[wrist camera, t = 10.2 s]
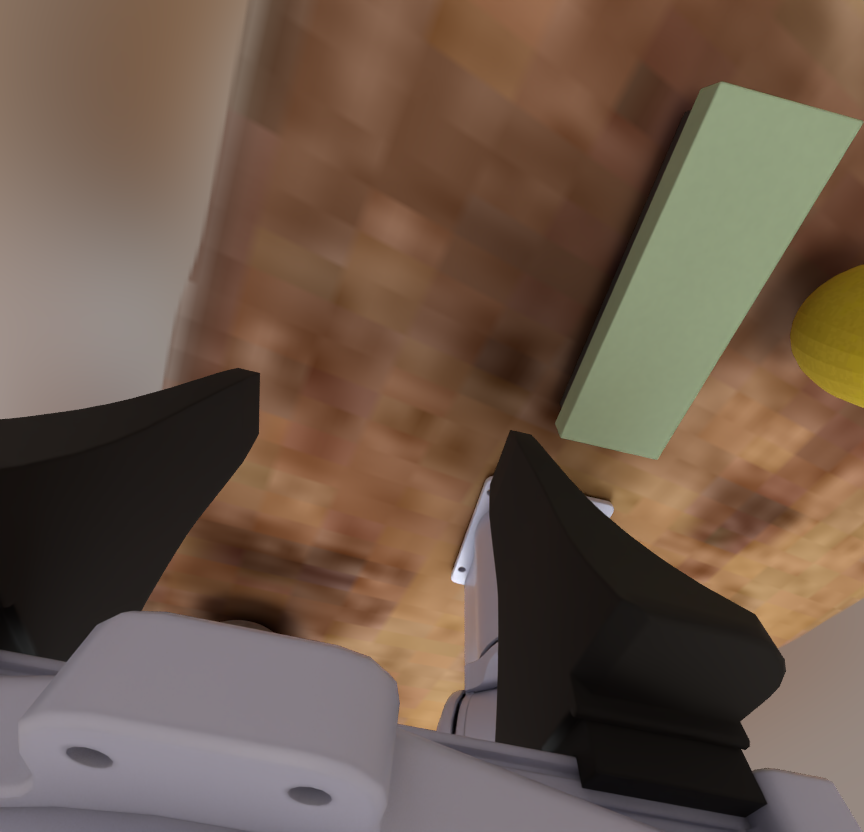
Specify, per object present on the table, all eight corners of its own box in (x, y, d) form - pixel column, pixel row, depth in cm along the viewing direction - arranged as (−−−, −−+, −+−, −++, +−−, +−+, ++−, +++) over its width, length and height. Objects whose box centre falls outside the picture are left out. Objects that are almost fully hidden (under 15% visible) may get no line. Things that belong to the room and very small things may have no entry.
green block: (636, 428, 23) (657, 460, 21) (548, 408, 23) (559, 438, 20) (801, 129, 16) (865, 120, 14) (679, 95, 16) (721, 80, 13)
